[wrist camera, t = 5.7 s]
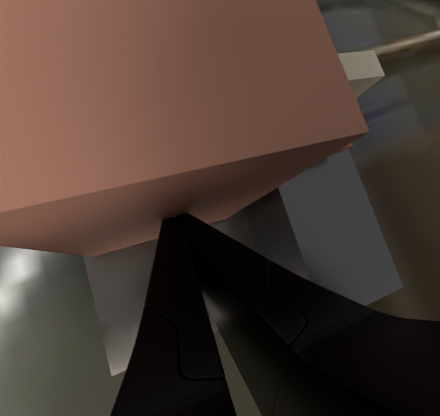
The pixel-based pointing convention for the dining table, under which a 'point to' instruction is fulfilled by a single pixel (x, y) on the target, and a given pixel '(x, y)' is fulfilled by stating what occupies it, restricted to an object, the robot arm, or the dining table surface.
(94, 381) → the dining table surface
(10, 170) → the brown upright block
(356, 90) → the cream upright block
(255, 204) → the gauge body
